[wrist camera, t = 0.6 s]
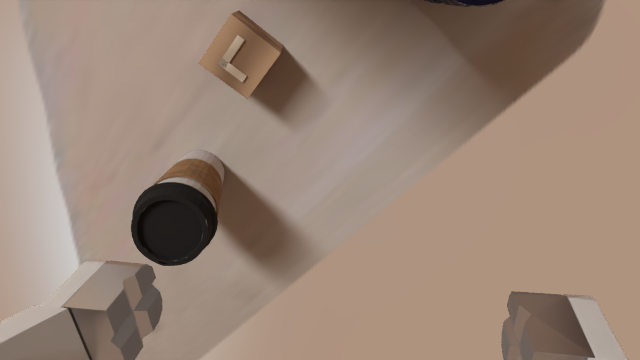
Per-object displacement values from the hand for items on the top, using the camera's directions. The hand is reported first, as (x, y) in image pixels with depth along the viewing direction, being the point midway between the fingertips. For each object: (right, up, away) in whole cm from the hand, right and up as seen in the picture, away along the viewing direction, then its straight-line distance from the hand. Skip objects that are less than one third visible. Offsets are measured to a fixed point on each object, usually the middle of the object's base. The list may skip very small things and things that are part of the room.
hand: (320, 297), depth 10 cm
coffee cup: (-15, +4, +46) cm, 49 cm away
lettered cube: (-8, +18, +40) cm, 45 cm away
